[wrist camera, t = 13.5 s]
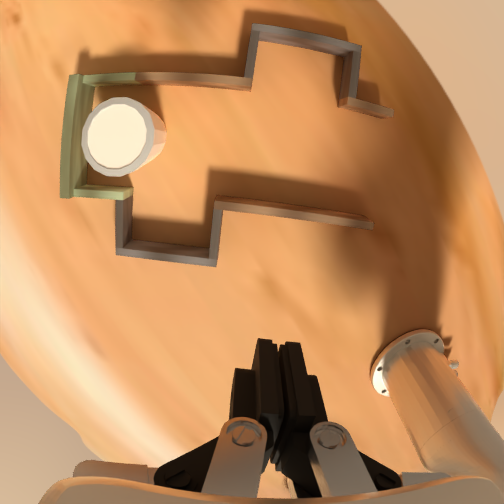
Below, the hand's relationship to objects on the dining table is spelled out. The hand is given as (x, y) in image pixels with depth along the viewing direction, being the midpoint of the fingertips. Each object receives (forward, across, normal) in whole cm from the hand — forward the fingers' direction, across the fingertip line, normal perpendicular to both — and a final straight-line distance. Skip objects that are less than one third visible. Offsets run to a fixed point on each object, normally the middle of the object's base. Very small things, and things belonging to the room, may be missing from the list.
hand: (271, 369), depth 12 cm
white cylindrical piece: (+22, +14, -8) cm, 27 cm away
